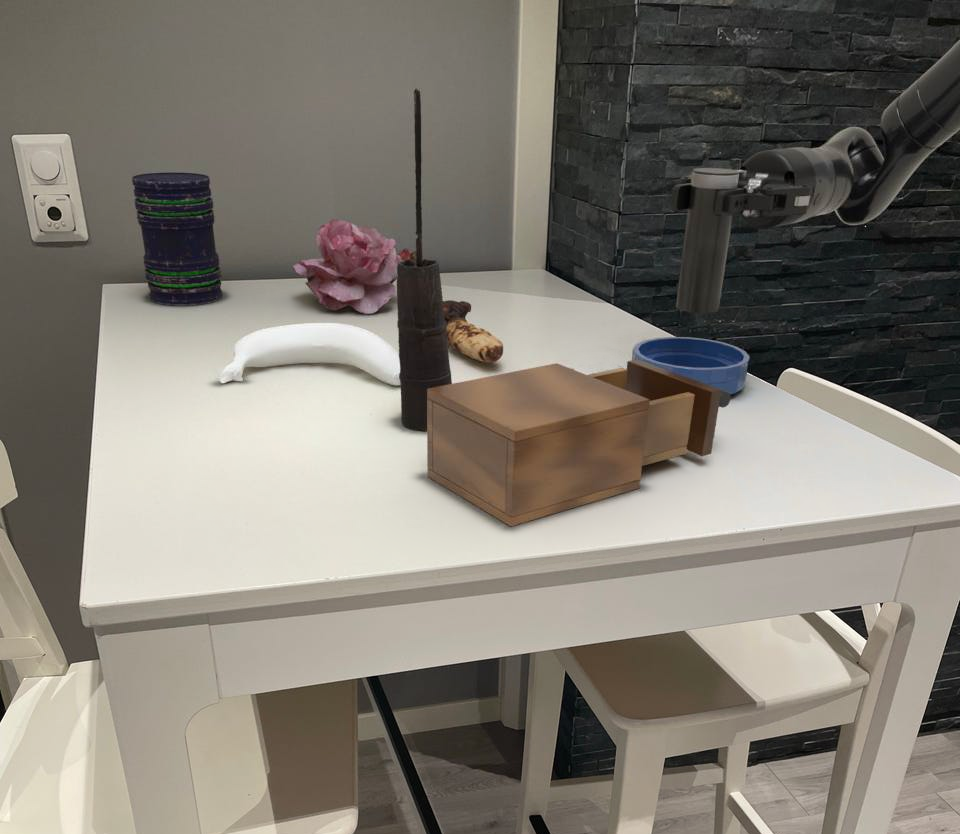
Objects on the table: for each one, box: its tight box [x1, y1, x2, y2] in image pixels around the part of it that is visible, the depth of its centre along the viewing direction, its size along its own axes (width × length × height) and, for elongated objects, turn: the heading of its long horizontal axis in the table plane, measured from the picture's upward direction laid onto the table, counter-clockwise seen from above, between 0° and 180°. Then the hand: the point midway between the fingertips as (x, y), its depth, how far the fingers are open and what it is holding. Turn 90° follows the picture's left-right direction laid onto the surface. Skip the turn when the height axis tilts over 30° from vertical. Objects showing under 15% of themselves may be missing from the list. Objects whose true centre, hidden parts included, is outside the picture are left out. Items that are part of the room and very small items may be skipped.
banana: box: [218, 322, 401, 386], centre depth 103 cm, size 5×19×15 cm
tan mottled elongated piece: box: [443, 299, 504, 363], centre depth 112 cm, size 9×5×18 cm
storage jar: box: [131, 171, 223, 307], centre depth 129 cm, size 10×10×15 cm
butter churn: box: [396, 88, 453, 432], centre depth 87 cm, size 9×10×28 cm
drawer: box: [587, 359, 732, 467], centre depth 85 cm, size 17×10×6 cm, turn 126°
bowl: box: [631, 336, 751, 395], centre depth 104 cm, size 12×12×4 cm
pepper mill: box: [675, 167, 739, 314], centre depth 97 cm, size 4×4×13 cm
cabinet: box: [426, 362, 650, 527], centre depth 79 cm, size 14×12×8 cm
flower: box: [292, 218, 411, 315], centre depth 130 cm, size 15×15×10 cm
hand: (697, 201), depth 94 cm, fingers closed on pepper mill, 4 cm apart
